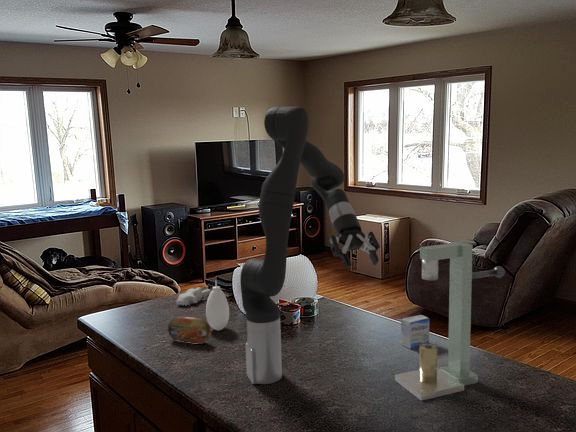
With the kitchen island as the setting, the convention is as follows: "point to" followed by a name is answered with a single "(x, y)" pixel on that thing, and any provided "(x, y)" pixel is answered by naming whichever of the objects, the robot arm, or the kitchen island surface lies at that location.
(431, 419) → the kitchen island surface
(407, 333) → the medicine box
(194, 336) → the tin
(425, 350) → the housing
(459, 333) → the press bed
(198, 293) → the bunny figurine
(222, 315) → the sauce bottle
